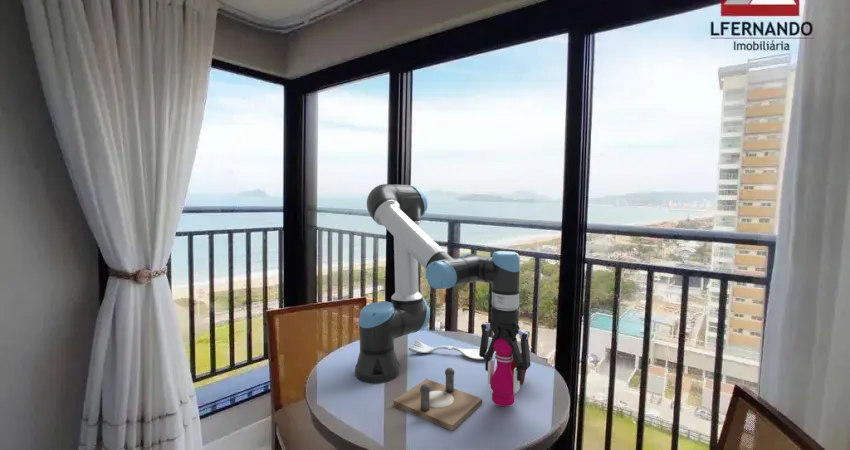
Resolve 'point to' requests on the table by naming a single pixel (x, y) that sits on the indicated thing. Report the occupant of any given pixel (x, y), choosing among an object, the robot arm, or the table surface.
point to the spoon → (426, 349)
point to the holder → (439, 402)
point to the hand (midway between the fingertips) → (503, 386)
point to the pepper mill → (503, 374)
